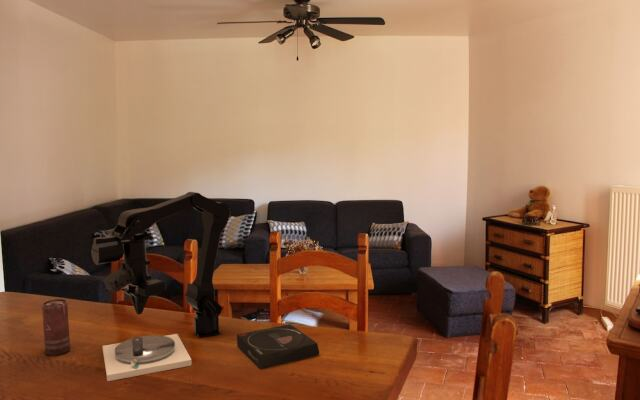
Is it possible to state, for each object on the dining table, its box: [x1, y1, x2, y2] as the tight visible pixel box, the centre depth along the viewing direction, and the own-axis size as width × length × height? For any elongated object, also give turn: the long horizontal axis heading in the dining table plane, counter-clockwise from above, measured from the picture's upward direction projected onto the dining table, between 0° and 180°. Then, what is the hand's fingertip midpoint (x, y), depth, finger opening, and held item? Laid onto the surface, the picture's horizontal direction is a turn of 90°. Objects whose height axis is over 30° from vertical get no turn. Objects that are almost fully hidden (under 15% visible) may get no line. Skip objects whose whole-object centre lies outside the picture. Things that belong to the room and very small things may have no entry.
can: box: [41, 298, 71, 357], centre depth 140 cm, size 6×6×14 cm
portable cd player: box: [236, 324, 320, 370], centre depth 141 cm, size 16×17×4 cm
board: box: [102, 333, 193, 382], centre depth 136 cm, size 20×20×2 cm
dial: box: [115, 334, 175, 365], centre depth 135 cm, size 17×15×6 cm
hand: (139, 313), depth 140 cm, fingers closed
